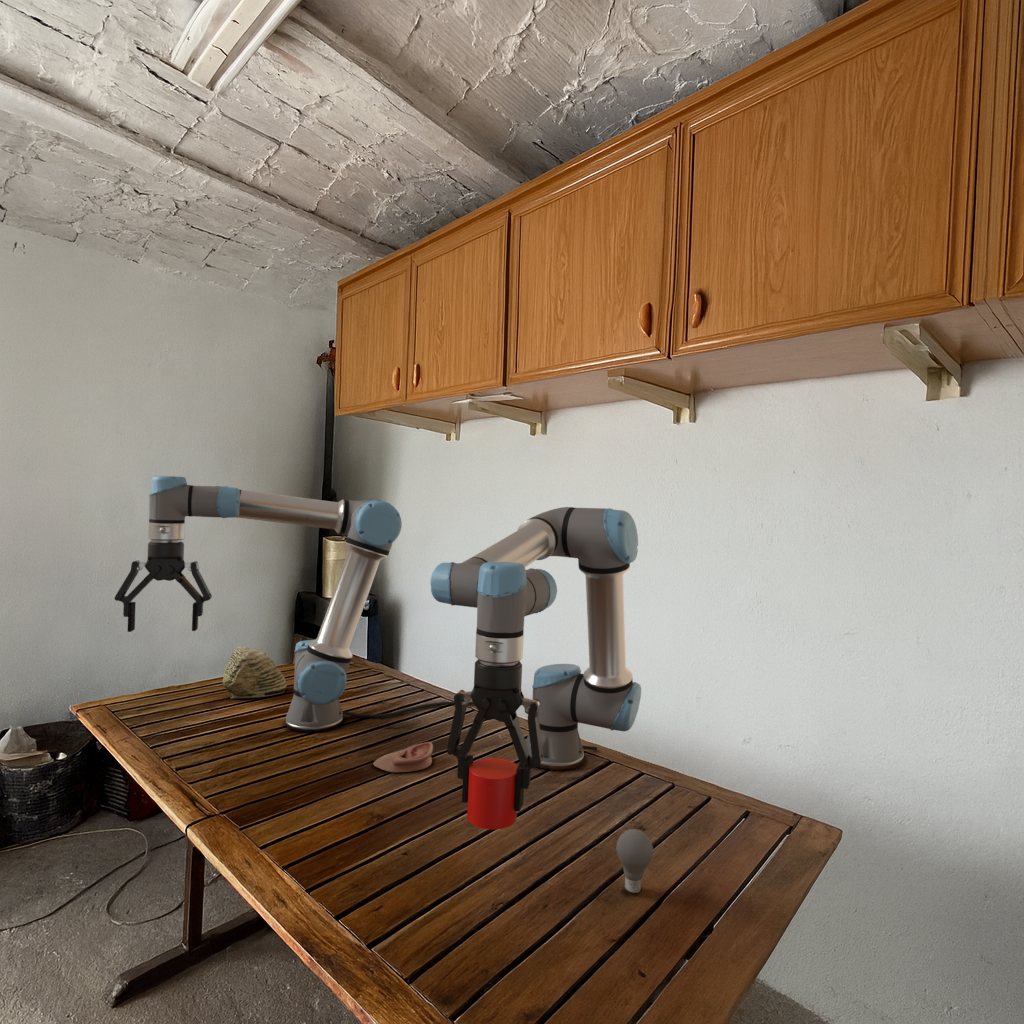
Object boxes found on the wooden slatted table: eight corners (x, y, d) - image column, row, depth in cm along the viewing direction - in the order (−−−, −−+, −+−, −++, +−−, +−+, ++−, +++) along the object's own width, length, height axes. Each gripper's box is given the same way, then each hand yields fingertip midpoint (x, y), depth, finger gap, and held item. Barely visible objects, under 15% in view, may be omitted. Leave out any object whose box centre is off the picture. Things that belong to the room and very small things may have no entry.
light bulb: (610, 879, 108) (613, 822, 108) (644, 879, 109) (647, 822, 109) (619, 902, 102) (622, 840, 102) (655, 901, 103) (658, 840, 103)
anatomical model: (368, 752, 148) (387, 734, 159) (367, 769, 148) (386, 750, 159) (422, 759, 145) (438, 741, 156) (421, 776, 145) (437, 757, 156)
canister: (524, 811, 103) (526, 763, 102) (504, 834, 95) (506, 783, 95) (480, 800, 106) (482, 754, 106) (458, 821, 98) (460, 772, 98)
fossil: (218, 695, 195) (220, 647, 195) (278, 685, 208) (279, 640, 207) (228, 703, 189) (230, 653, 188) (289, 692, 201) (290, 645, 201)
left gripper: (100, 540, 143) (97, 634, 143) (220, 543, 150) (217, 632, 150) (112, 538, 150) (109, 627, 150) (226, 541, 157) (223, 626, 157)
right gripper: (428, 659, 99) (422, 803, 99) (559, 673, 94) (552, 825, 94) (444, 648, 106) (439, 783, 107) (567, 661, 101) (561, 802, 102)
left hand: (163, 630), depth 150 cm, fingers open, 13 cm apart
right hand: (492, 802), depth 101 cm, fingers closed on canister, 8 cm apart
